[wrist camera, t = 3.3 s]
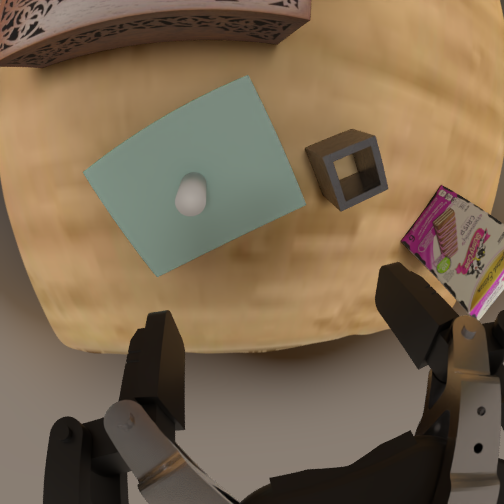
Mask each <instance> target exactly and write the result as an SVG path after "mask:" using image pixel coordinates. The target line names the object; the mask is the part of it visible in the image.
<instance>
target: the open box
mask: <svg viewBox="0 0 504 504" xmlns="http://www.w3.org/2000/svg"><path fill="white" fill-rule="evenodd" d="M305 149H306V152H307V154H308V157H309V159H310V162H311V164H312V167H313V170H314V172H315V175H316V178H317V180H318V183H319V186H320V189H321V191H322V194H323V196H325V197H326V198H327V199H328V200H329V201H330V202H331V203H332V204H333V205H334V206H335V207H336V208H337V209H339V210H340V211H343V210H345V209H347V208H350V207H352V206H354V205H356V204H358V203H360V202H362V201H364V200H366V199H368V198H371V197H373V196H375V195H377V194H379V193H381V192H383V191H385V190H387V189H388V185H387V180H386V176H385V172H384V167H383V163H382V159H381V155H380V151H379V147H378V144H377V140H376V137H375V136H374V135H371V134H368V133H364V132H361V131H357V130H354V129H350V130H348V131H345V132H342V133H340V134H337V135H335V136H332V137H330V138H327V139H325V140H322V141H320V142H318V143H315V144H313V145H310V146H308V147H306V148H305ZM352 153H353V155H354V158H355V162H356V165H357V169H358V172H357V173H355V174H353V175H350V176H348V177H346V178H344V179H341V180H339V179H338V176H337V173H336V170H335V167H334V164H333V162H334V161H336V160H338V159H341V158H343V157H345V156H348V155H350V154H352Z"/></svg>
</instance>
